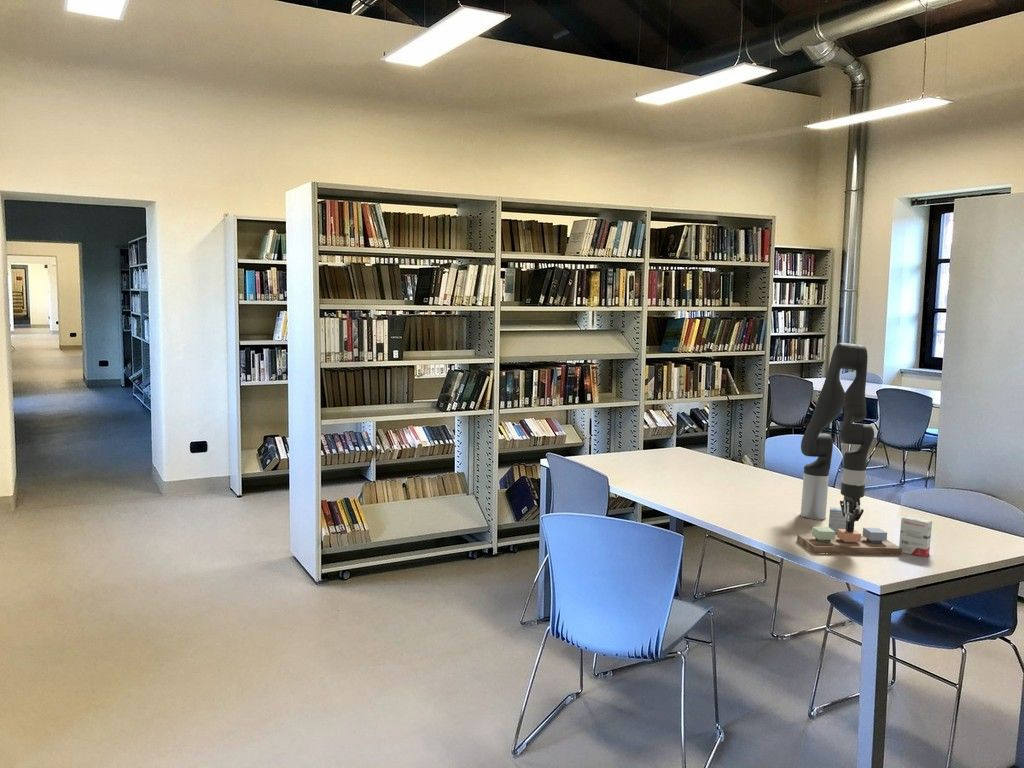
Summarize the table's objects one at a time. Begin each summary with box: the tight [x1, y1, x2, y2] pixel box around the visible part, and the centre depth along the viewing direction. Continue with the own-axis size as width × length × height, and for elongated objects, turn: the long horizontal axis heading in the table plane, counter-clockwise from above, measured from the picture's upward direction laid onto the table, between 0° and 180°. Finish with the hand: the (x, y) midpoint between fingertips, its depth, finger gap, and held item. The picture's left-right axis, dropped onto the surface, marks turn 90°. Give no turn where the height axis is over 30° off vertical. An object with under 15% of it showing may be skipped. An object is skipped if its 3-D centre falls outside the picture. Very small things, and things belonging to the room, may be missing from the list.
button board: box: [796, 534, 903, 556], centre depth 271 cm, size 14×30×4 cm, turn 92°
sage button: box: [811, 526, 836, 540], centre depth 270 cm, size 6×6×3 cm
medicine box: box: [828, 506, 846, 534], centre depth 290 cm, size 8×4×9 cm, turn 66°
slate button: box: [862, 527, 888, 541], centre depth 271 cm, size 6×6×3 cm
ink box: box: [898, 516, 933, 558], centre depth 267 cm, size 8×5×12 cm, turn 47°
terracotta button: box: [836, 529, 862, 542], centre depth 271 cm, size 6×6×3 cm
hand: (849, 531), depth 270 cm, fingers closed
